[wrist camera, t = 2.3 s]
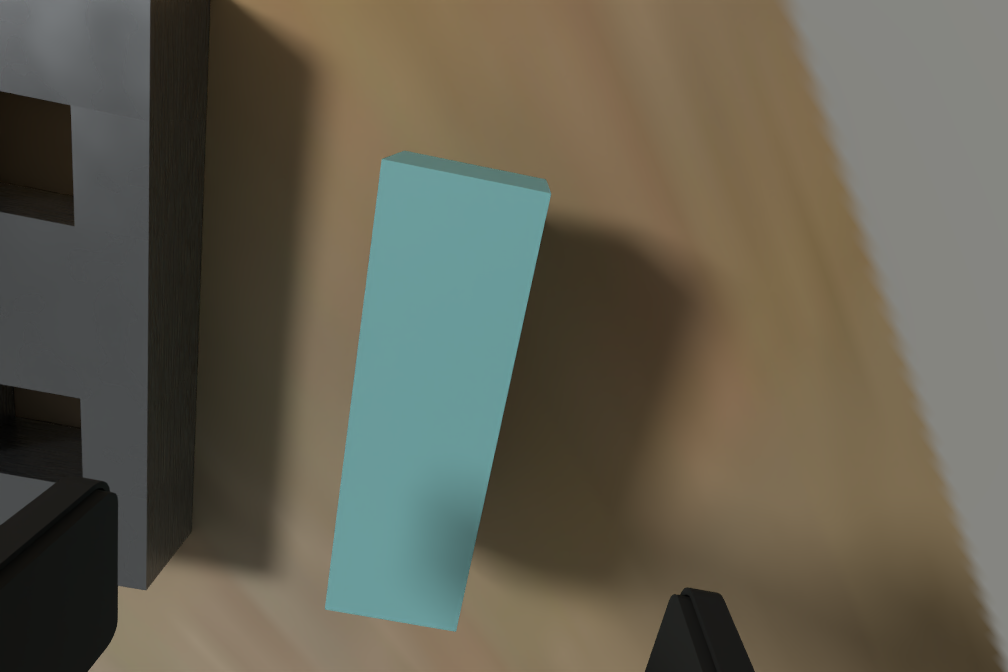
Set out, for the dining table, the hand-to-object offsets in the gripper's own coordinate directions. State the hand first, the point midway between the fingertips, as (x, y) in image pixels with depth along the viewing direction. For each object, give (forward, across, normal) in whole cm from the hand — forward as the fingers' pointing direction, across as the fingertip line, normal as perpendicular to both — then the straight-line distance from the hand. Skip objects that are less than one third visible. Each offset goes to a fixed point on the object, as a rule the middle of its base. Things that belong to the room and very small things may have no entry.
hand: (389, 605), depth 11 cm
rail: (+11, +12, -1) cm, 16 cm away
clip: (+11, 0, -1) cm, 11 cm away
